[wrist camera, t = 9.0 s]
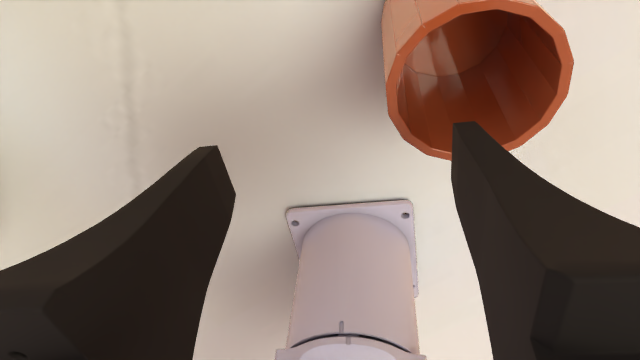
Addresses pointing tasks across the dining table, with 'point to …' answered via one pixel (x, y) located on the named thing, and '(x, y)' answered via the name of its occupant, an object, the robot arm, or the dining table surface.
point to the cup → (472, 69)
